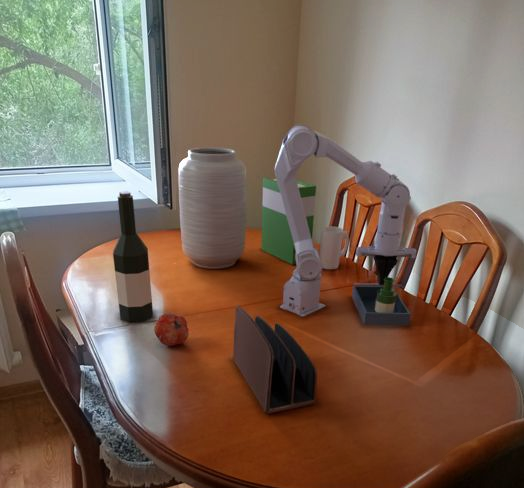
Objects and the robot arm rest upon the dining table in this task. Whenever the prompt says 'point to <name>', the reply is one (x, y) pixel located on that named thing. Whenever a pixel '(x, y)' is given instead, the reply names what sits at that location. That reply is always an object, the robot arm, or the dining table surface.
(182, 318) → the pomegranate
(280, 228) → the hardback book
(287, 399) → the letter holder
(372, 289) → the tray
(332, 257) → the mug
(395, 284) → the flap
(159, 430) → the dining table surface
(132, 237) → the wine bottle
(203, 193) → the vase
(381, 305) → the bottle
